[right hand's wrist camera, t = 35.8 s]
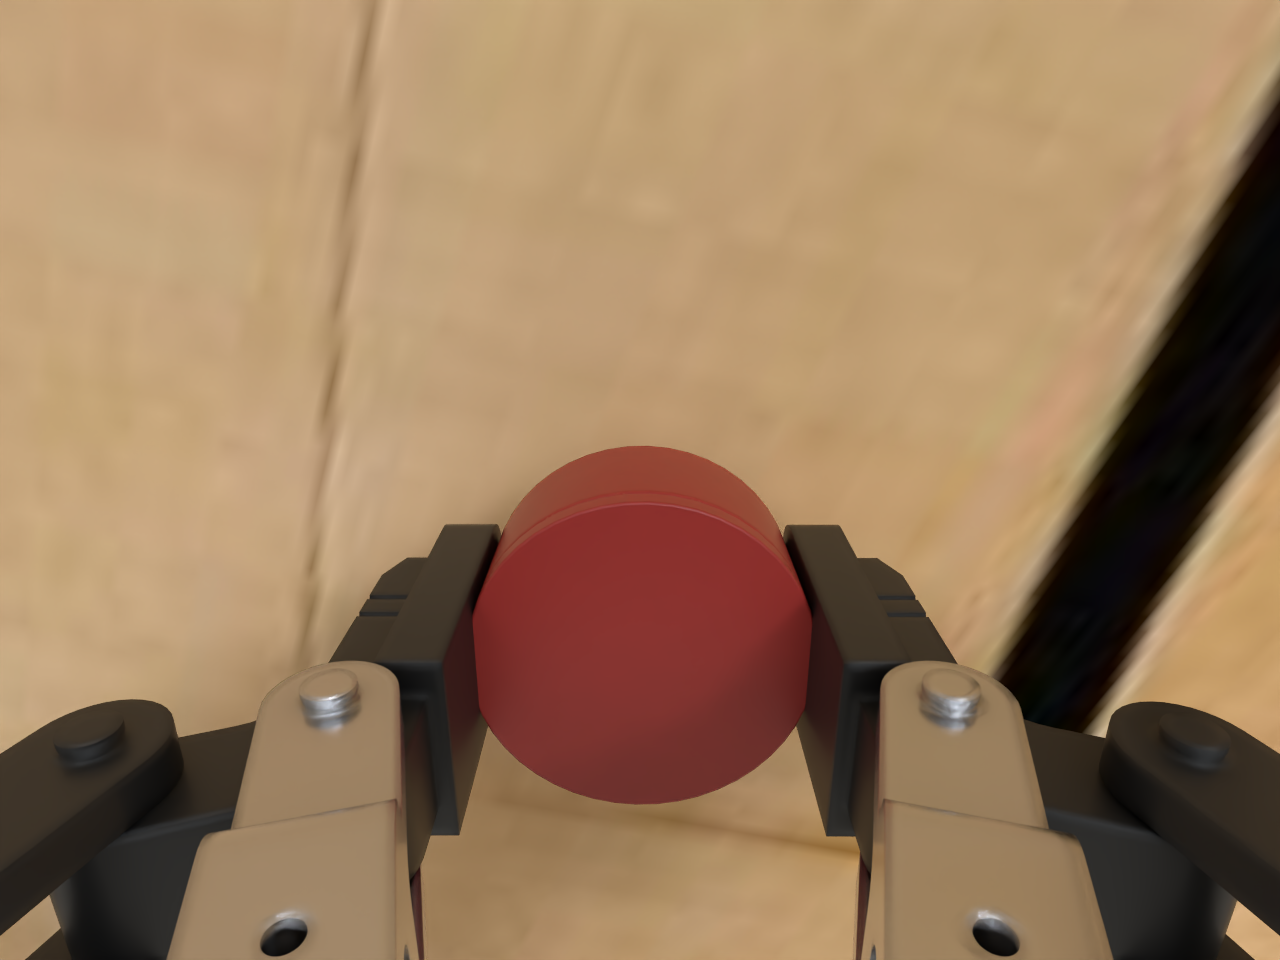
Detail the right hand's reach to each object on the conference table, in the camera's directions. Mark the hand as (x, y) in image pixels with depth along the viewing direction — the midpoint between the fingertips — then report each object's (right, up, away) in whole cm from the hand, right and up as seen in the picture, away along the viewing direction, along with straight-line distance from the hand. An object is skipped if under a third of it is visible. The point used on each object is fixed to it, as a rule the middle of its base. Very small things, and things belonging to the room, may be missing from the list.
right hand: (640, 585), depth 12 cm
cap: (0, -1, -2) cm, 2 cm away
